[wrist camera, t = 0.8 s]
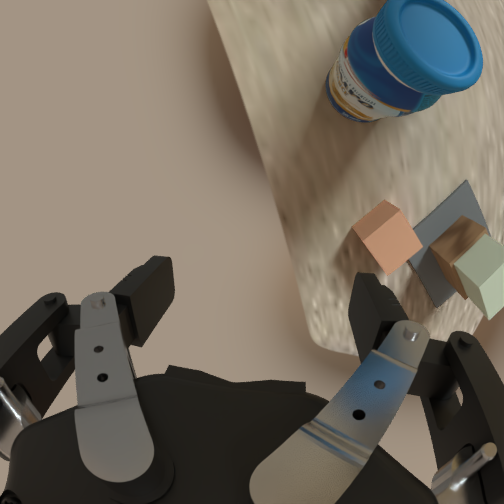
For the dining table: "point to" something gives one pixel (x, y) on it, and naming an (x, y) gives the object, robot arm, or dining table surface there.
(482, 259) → the sage block
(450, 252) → the walnut block
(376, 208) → the terracotta cube
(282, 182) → the dining table surface
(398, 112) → the beverage bottle
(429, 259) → the slate mat
